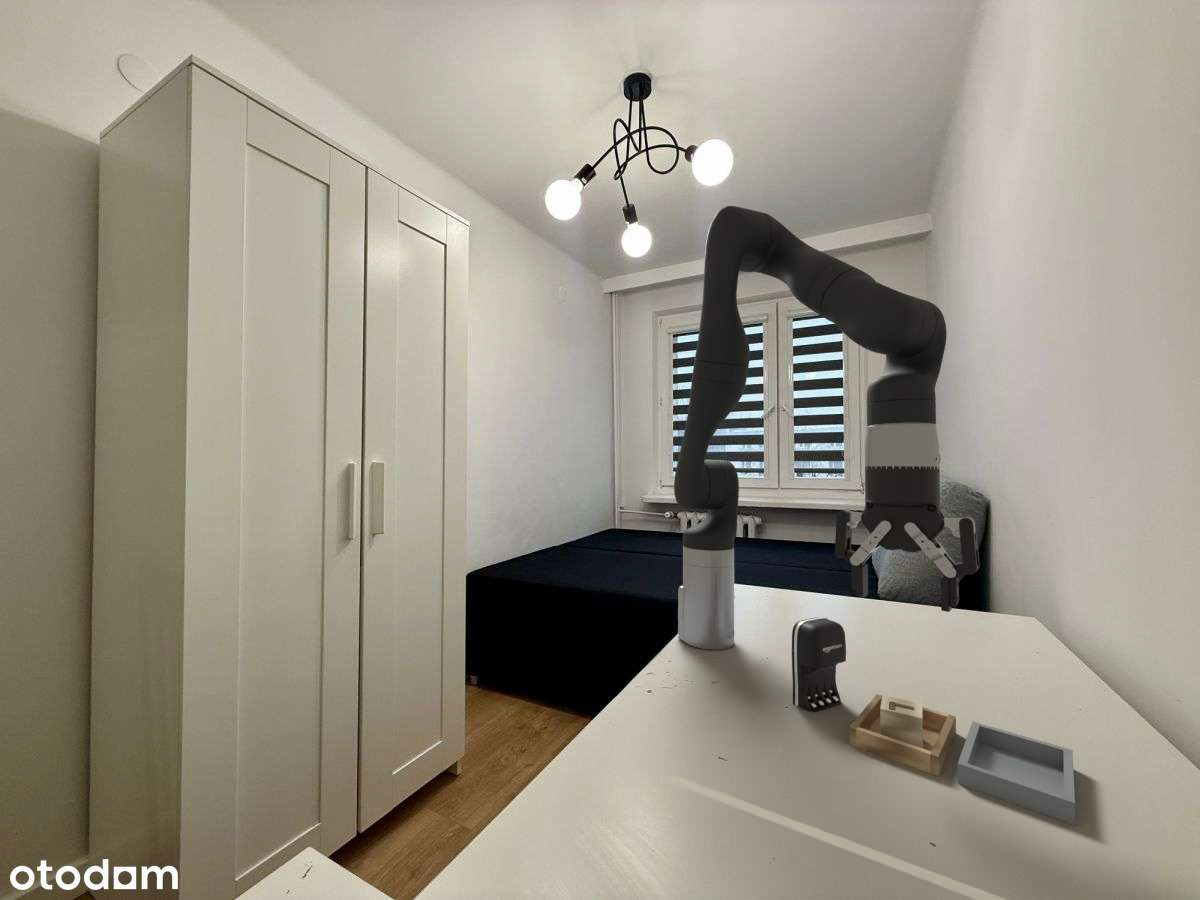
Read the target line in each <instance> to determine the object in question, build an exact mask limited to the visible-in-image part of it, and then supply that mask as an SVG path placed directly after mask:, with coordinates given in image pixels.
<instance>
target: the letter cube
mask: <svg viewBox="0 0 1200 900" xmlns="http://www.w3.org/2000/svg"><path fill="white" fill-rule="evenodd" d="M881 695H882V701H881V707H880V729H881V735H884V736H887V737H890V738H893V739H896V740H899V741H902V742H905V743H908V744H911V745H914V746H917V747H920V748H923V715H922V707H923V703H920V702H915V701H911V700H906V699H903V698H902V699H901V698H897V697H892V696H890V695H889V696H888V695H884V694H881Z"/></svg>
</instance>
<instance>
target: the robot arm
mask: <svg viewBox="0 0 1200 900" xmlns="http://www.w3.org/2000/svg"><path fill="white" fill-rule="evenodd" d="M703 264H704V265H703V285H702V286H703V289H702V304H701V312H700V313H701V314H700V320H699V328H698V329H699V330H698V338H697V344H696V349H695V355H694V361H693V370H692V377H691V386H690V395H689V401H688V410H687V416H686V423H685V429H684V432H683V437H682V442H681V446H680V451H679V455H678V458H677V464H676V469H675V472H674V473H675V474H674V483H673V493H674V499H675V502H676V503H677V505H678V506H679V507H680V508H681V509H683V510H695V511H697V510H698V511H699V510H708V512H707V516H706V517H705V518H704V519H703V520H702V521H700V522H698V524H695V525H693V526H691V527H689V528H686V529H685V530H684V532H683V535H682V585H679V587H678V590H677V591H678V593H677V595H678V596H677V597H678V598H677V600H678V601H677V602H678V603H677V606H678V607H677V622H678V623H677V639H678V640H681V641H683V642H684V643H685V644H687V645H689V646H691V647H695V648H699V649H703V650H726V649H729V648H731V647H733V646H734V644H735V539H736V534H737V531H738V515H739V514H738V513H739V497H740V496H739V495H740V494H739V493H740V487H739V486H740V482H739V481H740V480H739V475H738V472H737V469H736V467H735V465H734V464H733V463H732V462H731V461H729V460H725V459H706V456H707V452H708V449H709V446H710V443H711V441H712V439H713V437H714V435H715V433H716V431H717V430H718V429H719V427H720V426H721V424H722V423H724V421H725V420H726V419H727V418H728V416H729V414H730V413H731V412H732V411H733V410H734V409H735V407H736V406H737V405H738V403H739V401H740V400H741V398H742V397H743V395H744V393H745V389H746V385H747V384H746V383H747V379H748V373H749V367H750V361H751V360H750V359H751V349H750V344H749V340H748V337H747V333H746V331H745V328H744V325H743V322H742V319H741V318H742V317H741V315H740V312H739V307H738V297H737V296H738V295H737V293H738V291H737V290H738V281H739V275H740V274H739V273H740V272H743V273H759V274H762V275H766V276H769V277H772V278H775V279H776V280H777V279H778V280H779V281H781V282H783V283H784V285H787V287H788V289H789V290H790V292H791V294H792V295H793V297H795V298H796V300H797V301H799V302H800V303H801V304H802V305H803V306H805V307H807V308H808V309H810V310H811V311H813V312H814V313H816V314H817V315H819V316H820V317H822V318H824V319H826V320H827V321H830V322H831V323H833V324H834V325H835V326H836V327H837V328H838V330H840V331H841V332H842V333H843V334H844V335H845V336H846V337H848V338H849V339H850V340H851V341H853V342H854V343H855V344H857V345H858V346H860V347H862V348H863V349H865V350H868V351H870V352H873V353H875V354H876V353H877V354H880V355H885V363H884V368H883V374H882V376H880V377H876V378H875V379H873V380H872V381H870V383H869V385H868V387H867V390H866V435H865V441H864V503H865V504H864V505H865V506H864V510H862V512H859V511H853V510H851V509H849V508H848V509H847V508H846V509H843V510H841V509H840V510H839V511H837V513H836V520H835V521H836V522H835V523H836V524H835V536H834V537H835V540H834V542H835V544H834V555H835V557H836V558H838V559H843V560H845V561H847V562H848V563H849V565H850V566H851V567H850V569H851V570H850V571H851V574H850V575H851V588H852V591H853V592H856V596H857V597H860V598H866V597H867V596H868V595H869V565H868V564H866V562H867V560H868V559H869V558H870V557H871V556H872V555H873V554H874V553H875V552H876V551H877V550H878V549H879V548H880V547H881V548H883V549H884V550H887V551H895V550H896V551H897V550H902V551H904V552H907V553H913V554H914V553H918V552H921V551H923V552H924V554H925V555H926V557H928V558H929V560H930V561H932V562H933V563H934V564H935V566H936V567H937V568H938V569H939V570H940V571H941V572H942V574H943V575H942V576H941V577H940V609H941V610H940V611H941V612H948V613H950V612H951V611H952V608H956V607H957V606H958V603H959V601H960V595H959V593H960V592H959V589H960V588H959V587H960V586H959V578H960V577H962V576H967V575H974V574H976V573H977V572H978V571H979V569H980V558H979V557H980V556H979V547H978V546H979V545H978V537H977V535H978V534H977V525H976V520H975V519H974V518H973V517H971V516H964V517H945V516H944V515H943V513H942V511H941V485H940V472H941V470H940V463H941V458H942V457H941V453H940V443H939V437H938V432H937V431H938V430H937V406H936V405H937V404H936V403H937V402H936V401H937V398H936V385H937V382H938V379H939V377H940V376H939V375H940V372H941V368H942V363H943V358H944V354H945V350H946V345H947V335H948V333H947V325H946V321H945V316H944V314H943V312H942V311H941V309H940V308H939V307H938V306H937V305H936V304H935V303H932V302H930V301H928V300H925V299H921V298H920V297H916V296H913V295H910V294H906V293H903V292H901V291H899V290H896V289H893V288H891V287H889V286H887V285H884V284H882V283H880V282H877V280H875V278H874V277H872V276H871V275H870V274H868V273H867V272H865V271H863V270H861V269H859V268H858V267H855V266H854V265H851V264H849V263H847V262H845V261H843V260H840V259H839V258H836V257H834V256H832V255H830V254H828V253H826V252H823V251H821V250H820V249H819V250H818V249H817V248H815V247H812V246H811V245H808V243H806V242H804V241H803V240H801V239H800V237H798V236H796V235H795V234H793V232H792V231H790V230H789V229H788V228H787V227H786V226H784V224H782V223H781V222H780V221H778V220H777V219H776V218H774V217H773V216H772V215H770V214H768V213H764V212H761V211H757V210H753V209H750V208H746V207H745V208H744V207H741V206H736V205H726V206H725V207H721V209H719V211H717V212H716V214H715V215H714V217H713V219H712V221H711V222H710V226H709V228H708V232H707V235H706V241H705V249H704V263H703ZM859 522H861V523H862V525H864V528H866V530H867V531H868V532H869V535H868V537H867V538H866V539H865V540H864V541H863V542H862V543H861V545H860V546H859V548H857V550H856V551H855V550H853V549H852V539H853V538H852V536H853V529H855V528H857V526H858V523H859ZM945 528H948V529H949V530H950V531H951V534H952V536H953V537H955V538H959V541H960V550H961V562H957V563H956V562H955V561H954V560H953V558H952V557H951V556H950V555H949V554H948V552H947V550H946V549H945V548H944V547H943V546H942V544H941V543H940V542H939V541H938V540H937V537H938V536H939V535H940V533H941V532H942V531H943V530H945ZM678 635H679V636H678Z"/></svg>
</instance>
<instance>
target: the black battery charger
mask: <svg viewBox="0 0 1200 900" xmlns="http://www.w3.org/2000/svg"><path fill="white" fill-rule="evenodd" d="M846 644H847V643H846V633H845V629H844V627H843V626H842V625H841V624H840V623H838V622H836V621H834V620H831V619H828V618H827V617H822V616H821V617H820V616H819V617H818V616H817V617H810V618H806V619H801V620H799V621H796V623H794V626H793V627H792V631H791V673H792V675H791V676H792V704H793V705H794V706H795V707H796V708H800V709H802V710H804V711H805V712H811V713H817V712H820V711H825V710H827V709H830V708H834V707H836V706H840V705H841V704H842V700H841V695H840V694H839V691H838V688H837V687H838V686H837V679H836V677H837V675H836V674H837V665H838V664H842V663H845V662H846V661H847V645H846Z"/></svg>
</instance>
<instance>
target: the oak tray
mask: <svg viewBox="0 0 1200 900" xmlns="http://www.w3.org/2000/svg"><path fill="white" fill-rule="evenodd" d="M882 695H883V694H877V693H876V694H875V696H873V698H871V700H870V702H868V704H867V705H866V706H865V708H864V709H863V710H862V711H861V713H860V714H859V715H858V716H857V717H856V718H855V719H854V720H853V722H852V723H851V724H850V725H849V727H848V728H849V730H848V731H849V734H848V735H849V736H848V737H849V745H850V746H852V747H854V748H858V749H859V750H860V749H861V750H864V751H867V752H869V753H872V754H875V755H878V756H879V757H883V758H886V759H889V760H891V761H894V762H897V763H900V764H903V765H905V766H908V767H911V768H914V769H916V770H919V771H921V772H925V773H928V774H930V775H933V776H935V777H939V776H940V775H941V771H942V769H943V767H944V764H945V761H946V760H947V757H948V754H949V752H950V749H951V747H952V744H953V742H954V741H955V737H956V734H957V722H956V721H957V717H956V716H955V715H951V714H948V713H944V712H941V711H938V710H934V709H931V708H927V707H924V706H922V715H923V748H920V747H917V746H914V745H911V744H908V743H905V742H902V741H899V740H896V739H893V738H890V737H887V736H884V735H881V729H880V707H881V701H882Z"/></svg>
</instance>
